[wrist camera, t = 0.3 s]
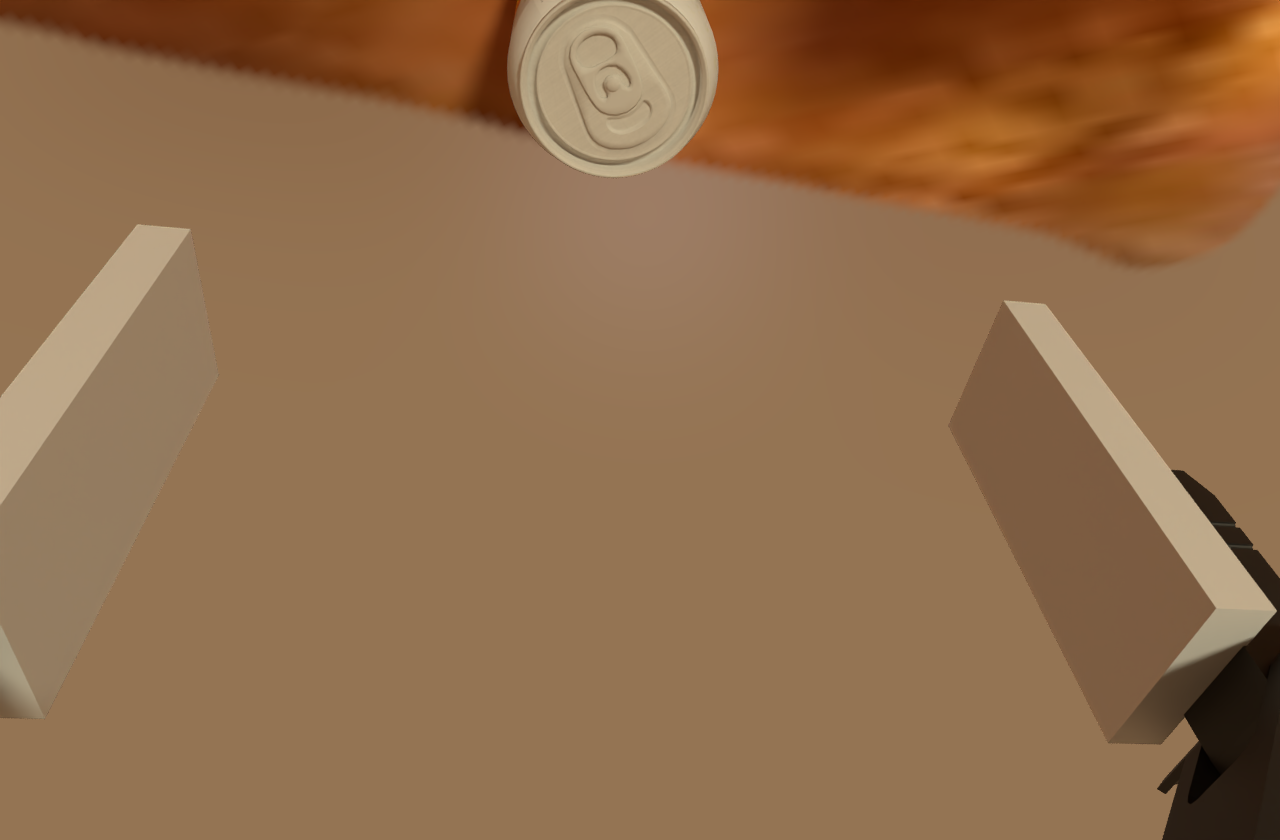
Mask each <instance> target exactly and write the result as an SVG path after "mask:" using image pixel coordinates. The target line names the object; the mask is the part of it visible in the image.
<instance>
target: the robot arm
mask: <svg viewBox="0 0 1280 840" xmlns="http://www.w3.org/2000/svg"><path fill="white" fill-rule="evenodd" d="M218 376H219V374H218V369H217V364H216V359H215V353H214V348H213V343H212V337H211V332H210V327H209V322H208V317H207V312H206V306H205V301H204V295H203V290H202V285H201V280H200V275H199V269H198V264H197V259H196V254H195V248H194V243H193V238H192V232H191V229H185V228H174V227H163V226H151V225H140V224H137V225H136V227H135V228H134V229H133V230H132V232H131V233H130V234H129V235H128V237H127V238H126V239H125V241H124V242H123V243H122V244H121V246H120V247H119V248H118V249H117V251H116V252H115V253H114V254H113V256H112V257H111V258H110V259H109V261H108V262H107V263H106V264H105V266H104V267H103V268H102V270H101V271H100V272H99V273H98V275H97V276H96V277H95V278H94V280H93V281H92V282H91V283H90V285H89V286H88V287H87V288H86V290H85V291H84V292H83V293H82V295H81V296H80V297H79V299H78V300H77V301H76V302H75V304H74V305H73V306H72V307H71V309H70V310H69V311H68V312H67V314H66V315H65V316H64V317H63V319H62V320H61V321H60V322H59V324H58V325H57V326H56V328H55V329H54V330H53V332H52V333H51V334H50V335H49V336H48V338H47V339H46V340H45V341H44V343H43V344H42V345H41V346H40V348H39V349H38V350H37V352H36V353H35V354H34V355H33V357H32V358H31V359H30V360H29V362H28V363H27V364H26V366H25V367H24V368H23V369H22V371H21V372H20V373H19V374H18V376H17V377H16V378H15V379H14V380H13V382H12V383H11V385H10V386H9V387H8V388H7V389H6V391H5V392H4V393H3V394H2V396H1V397H0V718H29V719H30V718H31V719H45V718H46V716H47V714H48V712H49V710H50V708H51V706H52V704H53V702H54V700H55V698H56V696H57V694H58V692H59V690H60V688H61V686H62V684H63V682H64V680H65V678H66V676H67V675H68V673H69V671H70V669H71V667H72V665H73V663H74V661H75V659H76V657H77V654H78V653H79V651H80V649H81V647H82V645H83V643H84V641H85V639H86V637H87V635H88V633H89V631H90V629H91V627H92V625H93V623H94V621H95V619H96V617H97V615H98V613H99V611H100V609H101V607H102V605H103V603H104V601H105V599H106V597H107V595H108V593H109V591H110V589H111V587H112V585H113V583H114V581H115V580H116V577H117V575H118V574H119V572H120V570H121V567H122V566H123V564H124V562H125V559H126V558H127V556H128V554H129V552H130V550H131V548H132V546H133V544H134V542H135V540H136V538H137V536H138V534H139V532H140V530H141V528H142V526H143V524H144V522H145V520H146V518H147V516H148V514H149V512H150V510H151V508H152V506H153V504H154V502H155V500H156V498H157V496H158V494H159V492H160V490H161V488H162V486H163V484H164V482H165V481H166V478H167V477H168V475H169V473H170V471H171V469H172V467H173V465H174V462H175V461H176V458H177V457H178V455H179V453H180V451H181V449H182V447H183V445H184V443H185V441H186V439H187V437H188V435H189V433H190V431H191V429H192V427H193V425H194V423H195V421H196V419H197V417H198V414H199V413H200V411H201V409H202V407H203V405H204V403H205V401H206V399H207V397H208V395H209V393H210V391H211V389H212V387H213V385H214V384H215V382H216V380H217V378H218ZM949 428H950V430H951V432H952V434H953V436H954V438H955V440H956V442H957V444H958V446H959V448H960V450H961V452H962V454H963V456H964V458H965V459H966V461H967V464H968V465H969V467H970V470H971V472H972V474H973V476H974V478H975V480H976V482H977V483H978V485H979V487H980V490H981V492H982V494H983V495H984V497H985V499H986V501H987V503H988V505H989V507H990V509H991V511H992V513H993V515H994V517H995V519H996V521H997V523H998V525H999V527H1000V529H1001V531H1002V533H1003V535H1004V537H1005V539H1006V541H1007V543H1008V545H1009V547H1010V549H1011V551H1012V553H1013V555H1014V557H1015V559H1016V561H1017V563H1018V565H1019V567H1020V569H1021V571H1022V573H1023V575H1024V577H1025V579H1026V581H1027V583H1028V585H1029V587H1030V589H1031V591H1032V593H1033V595H1034V597H1035V599H1036V601H1037V603H1038V605H1039V607H1040V609H1041V611H1042V613H1043V615H1044V617H1045V619H1046V620H1047V622H1048V625H1049V627H1050V629H1051V631H1052V633H1053V635H1054V637H1055V639H1056V641H1057V643H1058V644H1059V647H1060V648H1061V651H1062V653H1063V655H1064V657H1065V658H1066V660H1067V662H1068V665H1069V666H1070V668H1071V670H1072V672H1073V674H1074V676H1075V678H1076V680H1077V682H1078V684H1079V686H1080V688H1081V690H1082V692H1083V694H1084V696H1085V698H1086V700H1087V702H1088V704H1089V706H1090V708H1091V710H1092V712H1093V714H1094V716H1095V718H1096V720H1097V722H1098V724H1099V726H1100V728H1101V730H1102V732H1103V734H1104V736H1105V738H1106V740H1107V742H1108V743H1125V744H1162V743H1163V742H1164V740H1165V739H1166V738H1167V737H1168V736H1169V735H1170V734H1171V732H1172V731H1173V730H1174V729H1175V728H1176V727H1177V725H1178V724H1179V723H1180V722H1181V721H1182V720H1183V719H1184V717H1185V718H1186V720H1187V721H1188V723H1189V725H1190V726H1191V728H1192V730H1193V732H1194V733H1195V735H1196V737H1197V738H1198V740H1199V741H1198V742H1197V744H1196V745H1195V746H1194V747H1193V748H1192V749H1191V750H1190V751H1189V752H1188V754H1187V755H1186V756H1185V757H1184V758H1183V759H1182V760H1181V761H1180V762H1179V763H1178V765H1176V767H1175V768H1174V769H1173V770H1172V771H1171V772H1170V773H1169V774H1168V775H1167V777H1166V778H1165V779H1164V780H1163V781H1162V783H1161V784H1160V786H1159V787H1158V788H1157V789H1158V790H1160V791H1161V792H1163V793H1165V794H1166V793H1167V792H1168V791H1169V790H1170V789H1171V788H1172V786H1173V785H1175V784H1178V786H1177V789H1176V793H1175V797H1174V800H1173V803H1172V807H1171V810H1170V814H1169V817H1168V821H1167V825H1166V828H1165V831H1164V835H1163V839H1162V840H1280V578H1279V577H1278V576H1277V575H1276V573H1275V572H1274V571H1273V569H1272V568H1271V567H1270V565H1269V564H1268V563H1267V562H1266V560H1265V559H1264V558H1263V557H1262V555H1261V554H1260V553H1259V551H1257V550H1253V548H1252V546H1253V544H1252V543H1251V541H1250V540H1249V539H1248V537H1247V536H1246V535H1245V534H1244V532H1243V531H1242V530H1241V529H1240V528H1236V527H1235V523H1236V522H1235V521H1234V520H1233V518H1232V517H1231V516H1230V514H1229V513H1228V512H1227V511H1226V509H1225V508H1224V507H1223V506H1222V504H1221V503H1220V502H1219V500H1218V499H1217V498H1216V497H1215V495H1213V494H1212V493H1211V492H1209V491H1208V490H1207V489H1206V488H1204V487H1203V486H1202V485H1201V484H1199V483H1198V482H1197V481H1196V480H1194V479H1193V478H1192V477H1190V476H1189V475H1188V474H1187V473H1185V472H1184V471H1180V470H1170V469H1169V467H1168V466H1167V465H1166V464H1165V462H1164V461H1163V459H1162V458H1161V457H1160V455H1159V454H1158V453H1157V451H1156V450H1155V449H1154V447H1153V446H1152V445H1151V443H1150V442H1149V441H1148V439H1147V438H1146V437H1145V435H1144V434H1143V433H1142V431H1141V430H1140V429H1139V427H1138V426H1137V425H1136V424H1135V422H1134V421H1133V420H1132V418H1131V417H1130V416H1129V414H1128V413H1127V412H1126V410H1125V409H1124V408H1123V406H1122V405H1121V404H1120V402H1119V401H1118V400H1117V399H1116V397H1115V396H1114V394H1113V393H1112V392H1111V390H1110V389H1109V388H1108V386H1107V385H1106V384H1105V383H1104V381H1103V380H1102V379H1101V377H1100V376H1099V374H1098V373H1097V372H1096V371H1095V369H1094V368H1093V367H1092V365H1091V364H1090V363H1089V361H1088V360H1087V359H1086V357H1085V356H1084V355H1083V353H1082V352H1081V351H1080V349H1079V348H1078V347H1077V345H1076V344H1075V343H1074V341H1073V340H1072V339H1071V337H1070V336H1069V335H1068V333H1067V332H1066V331H1065V329H1064V328H1063V327H1062V325H1061V324H1060V323H1059V321H1058V320H1057V319H1056V318H1055V316H1054V315H1053V314H1052V312H1051V311H1050V310H1049V308H1048V307H1047V306H1046V305H1045V304H1038V303H1027V302H1014V301H1003V303H1002V305H1001V307H1000V310H999V312H998V314H997V316H996V318H995V321H994V323H993V325H992V328H991V330H990V332H989V334H988V337H987V339H986V341H985V343H984V346H983V348H982V350H981V352H980V355H979V357H978V359H977V362H976V364H975V366H974V369H973V371H972V373H971V375H970V377H969V380H968V382H967V384H966V386H965V389H964V391H963V394H962V396H961V398H960V400H959V402H958V405H957V407H956V409H955V411H954V414H953V416H952V418H951V421H950V423H949Z"/></svg>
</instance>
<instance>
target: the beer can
mask: <svg viewBox="0 0 1280 840" xmlns="http://www.w3.org/2000/svg"><path fill="white" fill-rule="evenodd" d="M507 75H508V85H509V90H510V95H511V98H512V101H513V104H514V107H515V109H516V112H517V114H518V116H519V118H520V120H521V122H522V123H523V125H524V127H525V128H526V130H527V131H528V132H529V134H530V135H531V136H532V138H533V139H534V140H535V141H536V142H537V143H538V144H539V145H540V146H541V147H542V148H543V149H544V150H546V151H547V152H548V153H549V154H551V155H552V156H554V157H555V158H557V159H558V160H560V161H561V162H563V163H564V164H566V165H567V166H569V167H571V168H573V169H575V170H578V171H580V172H583V173H586V174H589V175H593V176H598V177H605V178H623V177H630V176H635V175H639V174H642V173H646V172H648V171H650V170H653V169H655V168H657V167H659V166H661V165H662V164H664V163H666V162H667V161H668V160H670V159H671V158H673V157H674V156H675V155H676V154H677V153H678V152H679V151H681V149H682V148H683V147H684V146H685V145H686V144H687V143H688V142H689V141H690V140H691V139H692V138H693V137H694V136H695V134H696V133H697V131H698V130H699V129H700V127H701V126H702V124H703V122H704V120H705V119H706V117H707V115H708V113H709V110H710V108H711V106H712V102H713V99H714V96H715V92H716V87H717V81H718V55H717V48H716V43H715V39H714V36H713V32H712V30H711V27H710V25H709V22H708V20H707V17H706V15H705V12H704V10H703V7H702V5H701V2H700V0H517V4H516V10H515V15H514V21H513V27H512V33H511V39H510V45H509V51H508V59H507Z"/></svg>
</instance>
